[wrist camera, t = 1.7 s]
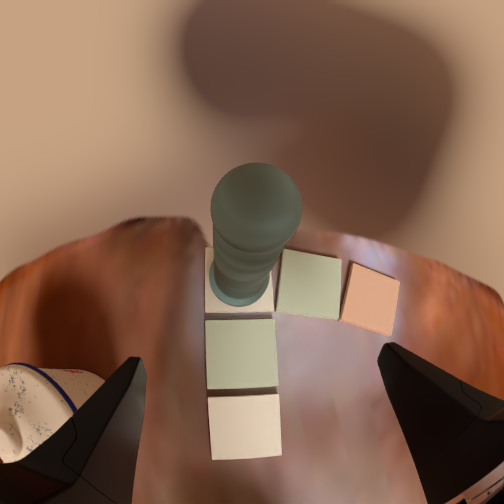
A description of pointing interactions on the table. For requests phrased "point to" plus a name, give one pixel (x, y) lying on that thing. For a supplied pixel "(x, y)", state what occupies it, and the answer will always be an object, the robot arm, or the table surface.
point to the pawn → (250, 230)
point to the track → (264, 343)
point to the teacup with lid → (38, 404)
